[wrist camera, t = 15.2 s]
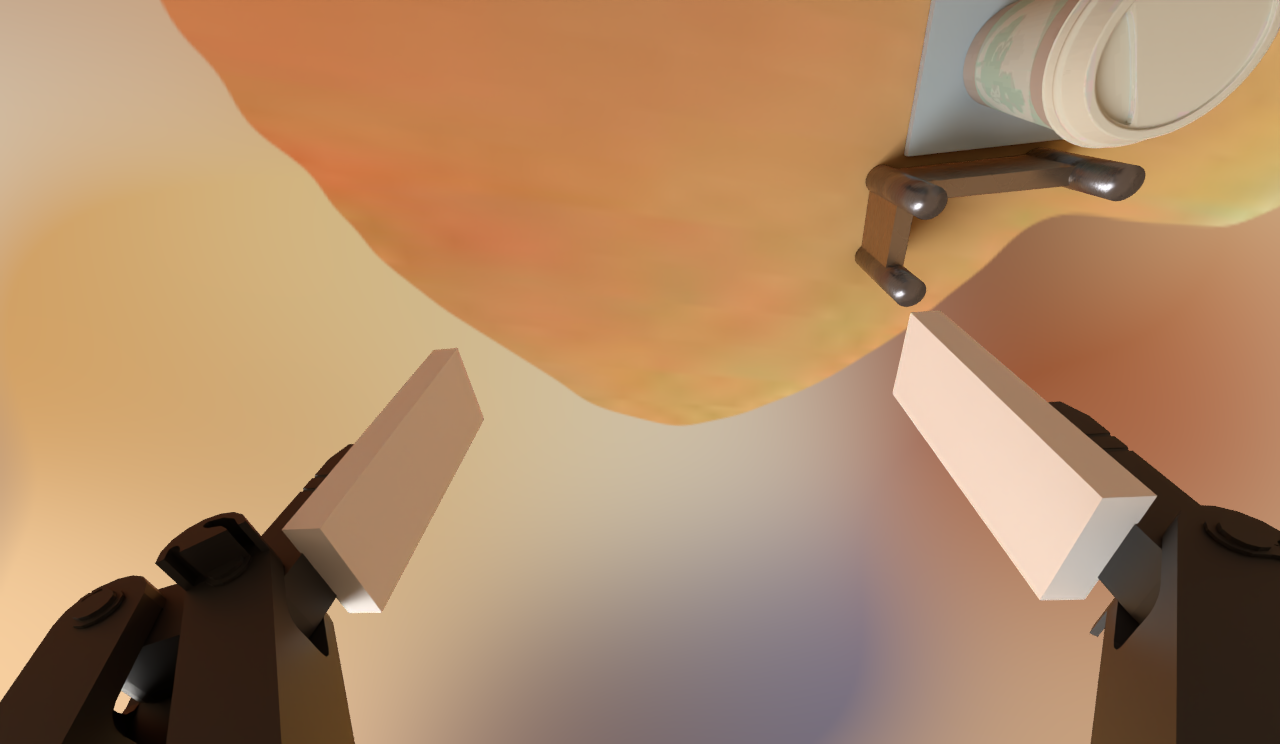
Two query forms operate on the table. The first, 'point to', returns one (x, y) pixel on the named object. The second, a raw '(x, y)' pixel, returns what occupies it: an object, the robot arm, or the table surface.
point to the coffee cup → (1116, 63)
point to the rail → (934, 184)
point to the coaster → (959, 88)
